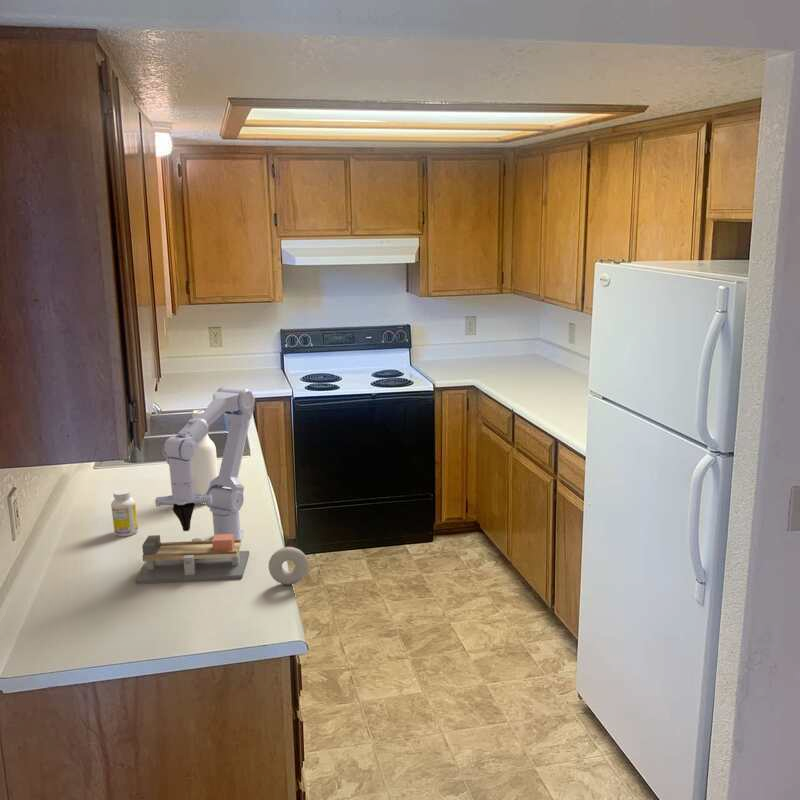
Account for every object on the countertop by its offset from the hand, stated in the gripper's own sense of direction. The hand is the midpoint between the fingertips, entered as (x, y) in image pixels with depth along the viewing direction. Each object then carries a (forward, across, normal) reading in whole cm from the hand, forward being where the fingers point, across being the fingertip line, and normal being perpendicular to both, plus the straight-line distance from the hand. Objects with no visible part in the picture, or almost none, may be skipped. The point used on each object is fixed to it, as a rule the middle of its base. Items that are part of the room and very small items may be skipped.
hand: (186, 529), depth 213 cm
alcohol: (+10, -4, +48) cm, 49 cm away
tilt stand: (+9, +2, -4) cm, 10 cm away
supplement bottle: (+10, -23, +23) cm, 34 cm away
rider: (+4, +10, -4) cm, 12 cm away
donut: (+10, +28, -16) cm, 34 cm away
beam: (+4, +2, -4) cm, 6 cm away
